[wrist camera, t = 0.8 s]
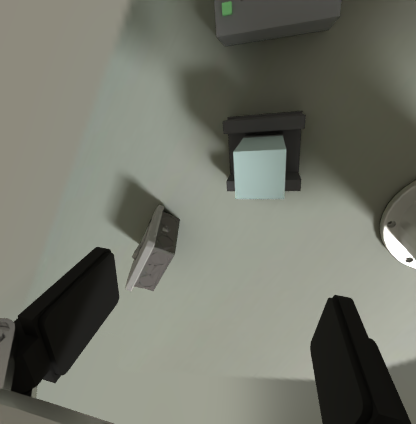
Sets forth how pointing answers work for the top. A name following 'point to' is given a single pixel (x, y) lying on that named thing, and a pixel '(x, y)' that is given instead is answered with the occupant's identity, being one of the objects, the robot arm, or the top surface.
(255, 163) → the plug
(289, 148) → the dark grey flanged block
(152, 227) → the electrical switch
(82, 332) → the robot arm
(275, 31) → the port
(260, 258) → the top surface
